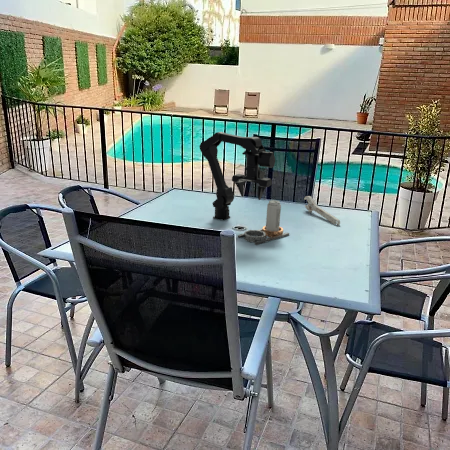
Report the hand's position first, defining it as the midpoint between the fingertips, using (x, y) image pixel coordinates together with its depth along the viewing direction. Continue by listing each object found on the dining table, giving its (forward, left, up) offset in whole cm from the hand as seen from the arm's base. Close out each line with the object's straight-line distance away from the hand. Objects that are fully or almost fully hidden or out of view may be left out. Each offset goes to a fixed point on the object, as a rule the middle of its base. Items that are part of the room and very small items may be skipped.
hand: (250, 198), depth 201 cm
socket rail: (+13, -10, -13) cm, 21 cm away
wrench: (+22, +35, -14) cm, 43 cm away
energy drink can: (+15, -5, -13) cm, 20 cm away
